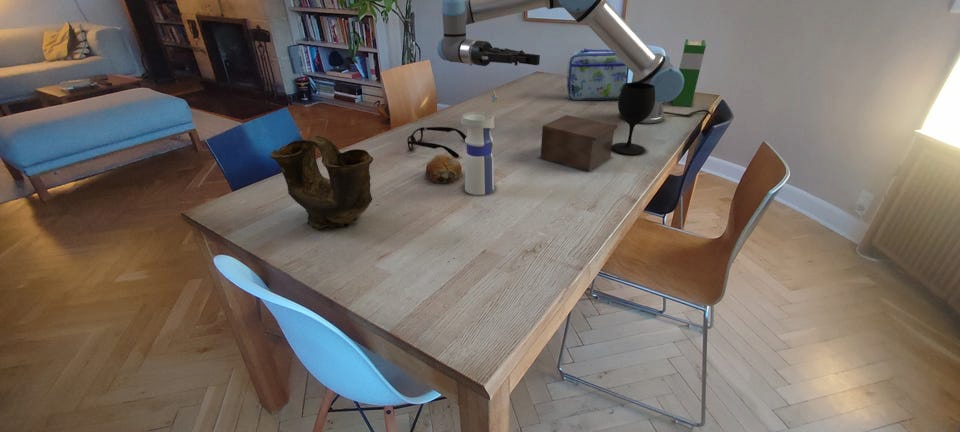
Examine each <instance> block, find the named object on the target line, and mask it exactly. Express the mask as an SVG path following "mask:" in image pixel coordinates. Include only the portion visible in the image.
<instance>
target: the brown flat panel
mask: <svg viewBox="0 0 960 432" xmlns="http://www.w3.org/2000/svg"><path fill="white" fill-rule="evenodd" d="M542 128H544V129H548V130H552V131H557V132H561V133H565V134H569V135H574V136H578V137H582V138H587V139H591V140H595V141H596V140H598V139H599V138H601V137H603V136H605V135H606V134H608V133H610V132H611V131H613V130H614V131H615V130H618V125H617V124H613V123H612V124H611V123H607V122H603V121H597V120H592V119H588V118H584V117H583V118H582V117H578V116H572V115H567V114H565V115H564V116H561V117H559V118H556V119H554V120H552V121H550V122H547V123H545V124H543V125H542Z"/></svg>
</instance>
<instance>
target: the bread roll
mask: <svg viewBox="0 0 960 432" xmlns="http://www.w3.org/2000/svg"><path fill="white" fill-rule="evenodd" d="M425 176H426V179H427V180H428V181H429V182H431V183H434V184H449V183H452V182H455V181H458V180H459V179H460V177H462V165H461V163H460V161H459V160H458V159H457V158H455V157H453V156H452V155H451V154H436V155H435V156H434V157H432V158H431V159H430V160H429V161H428V162H427V163H426V166H425Z"/></svg>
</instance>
